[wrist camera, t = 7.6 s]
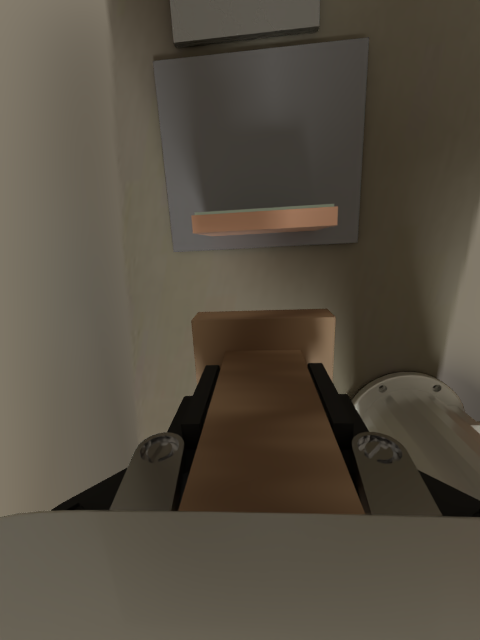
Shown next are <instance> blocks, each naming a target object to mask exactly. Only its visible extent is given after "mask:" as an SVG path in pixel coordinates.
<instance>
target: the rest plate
mask: <svg viewBox="0 0 480 640" xmlns="http://www.w3.org/2000/svg"><path fill="white" fill-rule="evenodd" d="M170 8H171V19H172V30H173V41H174V45H175V47H185V46H194V45H203V44H211V43H220V42H229V41H238V40H247V39H255V38H264V37H273V36H282V35H291V34H300V33H308V32H317V31H318V29H319V21H320V0H170Z"/></svg>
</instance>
